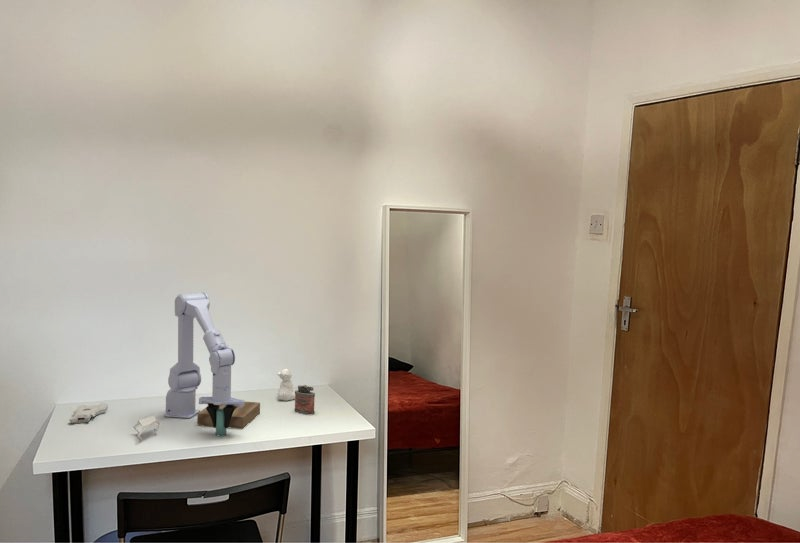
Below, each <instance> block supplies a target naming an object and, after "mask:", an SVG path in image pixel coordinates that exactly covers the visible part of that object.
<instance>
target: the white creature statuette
mask: <svg viewBox="0 0 800 543" xmlns="http://www.w3.org/2000/svg"><path fill="white" fill-rule="evenodd" d="M277 376H279V378H280V379H281V380H282V381H281V382H280V384H279V388H278V392H277V394H276V396H277V399H279V400H280V401H281V400H283V401H282V402H288V400H290V401H294V400H295V391H293V387H294V384H293V382H292V380H291V379H292V376H293V375H292V373H291V371H290V370H289V369H288V368H284V369H282V370H280V371H277ZM293 399H294V400H293Z"/></svg>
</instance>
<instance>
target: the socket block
mask: <svg viewBox="0 0 800 543" xmlns="http://www.w3.org/2000/svg"><path fill="white" fill-rule="evenodd" d="M225 407H226V406H225V405H220V406H219V409H223V408H225ZM258 414H259V415H260V414H261V402H255V401H245V400H244V406H243V407H242V408H241V407H237V406H236V408H235V410H234V412H233V414H232V417H231V420H230V424H229V427H231V428H230V429H238V428H244V427H245V426H246V425H247V424H248V423H249V424H250V423H251V422H252V421H253V420H255V419H256V418H257V417H258V416H259V415H258ZM257 415H258V416H257ZM256 416H257V417H256ZM196 417H197V419H196V420H197V421H196V422H197V423H196V425H197V426H202V425H204V427H213V423H212V420H211V417H210V415H209V413H208V411H207V410H206V407H204V408H203V409H202V410H200V412H198V413H197V414H196ZM255 417H256V418H255ZM249 424H248V425H249ZM248 425H247V426H248ZM247 426H246V427H247ZM246 427H245V428H246ZM245 428H244V429H245Z"/></svg>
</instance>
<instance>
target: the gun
mask: <svg viewBox="0 0 800 543" xmlns="http://www.w3.org/2000/svg"><path fill="white" fill-rule="evenodd" d="M108 406H109V404H108V403H105V402H101V403H100V404H97V405H88V406H87V405H86V404H83V405H79V406H77V408H76V409H75V410H74V411H73V412H72V413H73V414H72V415H73V416H72V417H71V418H69V422H71V423H73V424H82V423H88V422H90V420H91V418H95V417H96V416H99V415H102V414H105V413H106V412H107V411H108V408H109V407H108Z"/></svg>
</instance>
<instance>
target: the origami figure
mask: <svg viewBox="0 0 800 543" xmlns="http://www.w3.org/2000/svg"><path fill="white" fill-rule="evenodd" d="M154 424H156V426H155V427H154V428H153V430H154V434H155V436H157V435H156V434H157V431H158V430H159V428H160V426H161V425H160V424H161V423H160V422H159V420H158V419H157V418H156V415H152V416H149V417H145V418H143V419H137V422H136V423H135V424H134V425H133V426H132V428H133V429H134V430H135V431H136V432H137V433H135V436H137V438H138V439H140V440H138V442H139V443H141V442H142V441H143V438H142V437H141V435H142V432H143V430H144V429H146V428H149V427H151V426H152V425H154ZM139 425H140V427H141V430H140V432H139V430H138V429H137V427H138V426H139ZM155 430H156V431H155Z"/></svg>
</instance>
